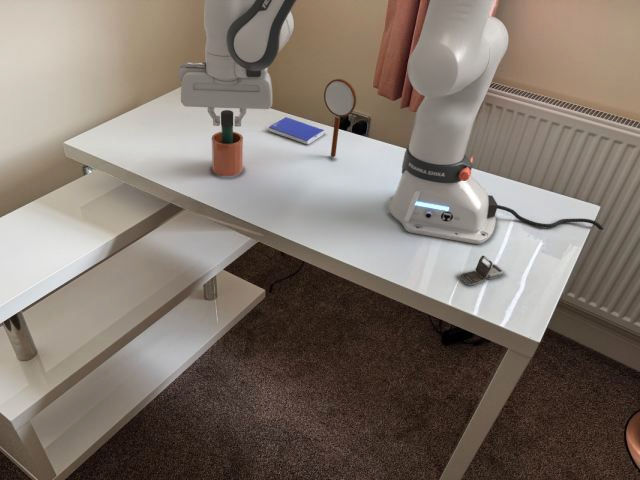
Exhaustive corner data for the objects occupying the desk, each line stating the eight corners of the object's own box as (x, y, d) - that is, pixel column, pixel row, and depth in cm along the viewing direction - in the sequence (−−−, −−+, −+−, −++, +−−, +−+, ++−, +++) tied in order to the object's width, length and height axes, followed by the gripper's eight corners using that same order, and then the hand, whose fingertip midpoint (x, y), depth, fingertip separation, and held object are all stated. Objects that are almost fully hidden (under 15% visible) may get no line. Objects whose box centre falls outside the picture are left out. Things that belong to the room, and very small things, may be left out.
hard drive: (269, 126, 154) (307, 139, 149) (286, 116, 159) (324, 129, 154) (268, 131, 155) (307, 145, 150) (286, 121, 160) (323, 134, 155)
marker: (235, 167, 139) (235, 111, 129) (229, 172, 137) (229, 116, 128) (225, 164, 139) (224, 109, 130) (219, 169, 138) (218, 113, 129)
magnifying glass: (349, 163, 142) (360, 83, 130) (345, 166, 141) (356, 85, 128) (320, 152, 147) (328, 73, 134) (316, 154, 146) (324, 75, 133)
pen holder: (247, 167, 140) (248, 135, 134) (233, 181, 135) (233, 147, 129) (222, 160, 142) (221, 128, 137) (207, 173, 137) (205, 140, 132)
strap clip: (493, 266, 112) (499, 248, 109) (504, 275, 110) (511, 257, 107) (458, 277, 109) (463, 259, 106) (468, 286, 107) (474, 268, 104)
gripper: (175, 67, 120) (179, 129, 129) (273, 70, 119) (271, 132, 128) (179, 56, 125) (183, 117, 134) (274, 59, 124) (271, 120, 133)
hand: (227, 125), depth 131 cm, fingers open, 3 cm apart
